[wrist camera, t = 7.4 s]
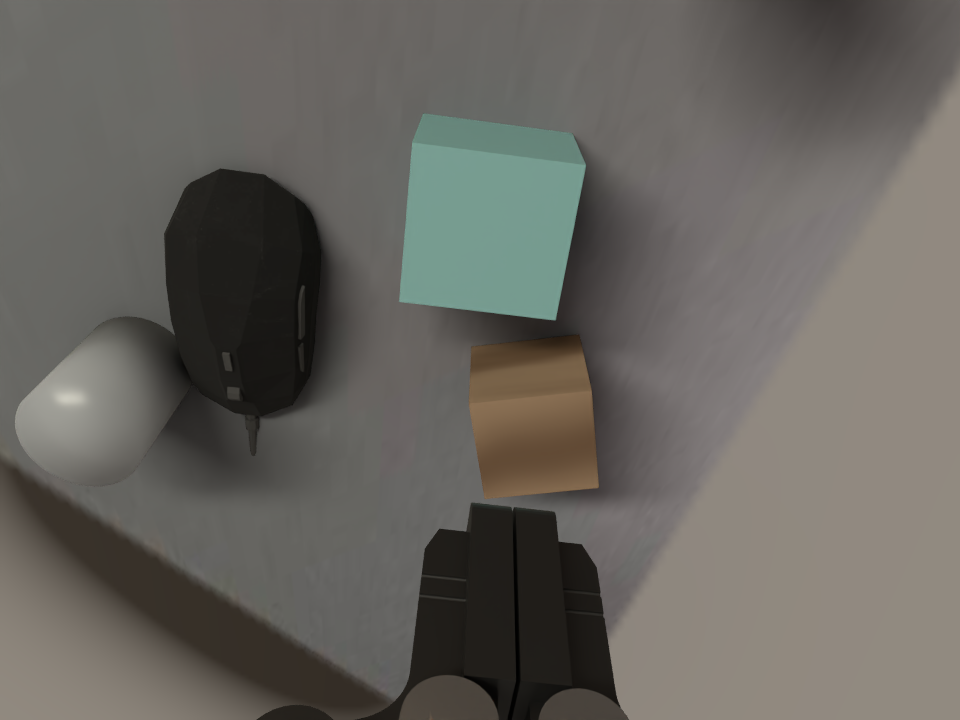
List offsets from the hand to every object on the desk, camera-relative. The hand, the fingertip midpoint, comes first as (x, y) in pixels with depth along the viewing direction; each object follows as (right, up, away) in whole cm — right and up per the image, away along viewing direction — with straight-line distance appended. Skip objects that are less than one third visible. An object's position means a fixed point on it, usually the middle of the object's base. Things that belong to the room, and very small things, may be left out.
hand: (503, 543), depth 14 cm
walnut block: (+2, +2, +22) cm, 23 cm away
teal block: (0, +10, +18) cm, 21 cm away
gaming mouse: (-11, +5, +21) cm, 25 cm away
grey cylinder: (-17, +3, +22) cm, 28 cm away
